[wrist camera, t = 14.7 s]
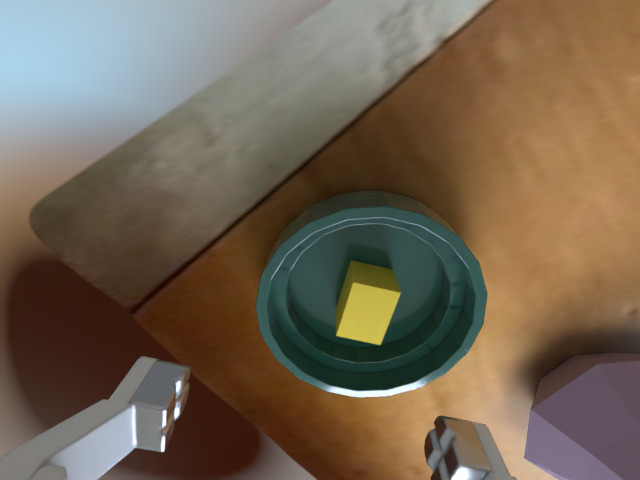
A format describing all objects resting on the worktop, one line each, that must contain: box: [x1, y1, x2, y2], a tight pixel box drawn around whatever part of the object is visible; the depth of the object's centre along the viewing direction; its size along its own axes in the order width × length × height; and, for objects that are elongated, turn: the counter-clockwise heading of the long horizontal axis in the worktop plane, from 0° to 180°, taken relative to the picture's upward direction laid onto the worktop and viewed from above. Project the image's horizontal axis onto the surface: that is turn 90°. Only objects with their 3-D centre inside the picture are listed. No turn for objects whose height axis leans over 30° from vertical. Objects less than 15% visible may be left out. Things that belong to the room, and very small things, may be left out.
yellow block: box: [336, 260, 401, 345], centre depth 27 cm, size 5×4×4 cm
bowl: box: [256, 190, 487, 397], centre depth 27 cm, size 17×17×4 cm
